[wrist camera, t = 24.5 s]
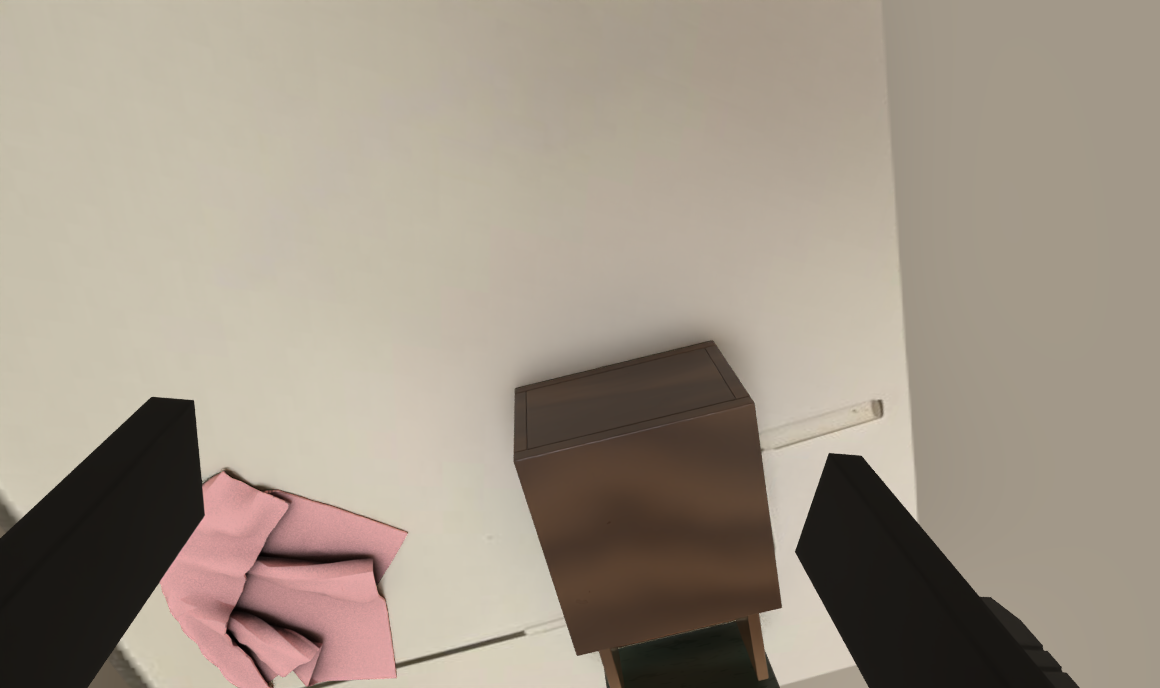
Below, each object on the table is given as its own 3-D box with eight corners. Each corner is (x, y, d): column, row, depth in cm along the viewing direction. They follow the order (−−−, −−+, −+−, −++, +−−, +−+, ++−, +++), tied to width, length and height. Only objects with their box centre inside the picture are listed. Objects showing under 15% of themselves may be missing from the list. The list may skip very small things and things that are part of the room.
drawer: (759, 667, 56) (789, 744, 50) (616, 700, 56) (628, 781, 50) (730, 485, 48) (761, 550, 42) (563, 525, 48) (569, 595, 42)
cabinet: (741, 521, 50) (782, 608, 43) (568, 562, 51) (576, 656, 43) (713, 339, 44) (754, 402, 36) (514, 388, 44) (513, 460, 36)
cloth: (197, 434, 44) (180, 455, 42) (482, 566, 50) (480, 590, 48) (87, 633, 50) (67, 660, 47) (355, 728, 56) (348, 756, 54)
